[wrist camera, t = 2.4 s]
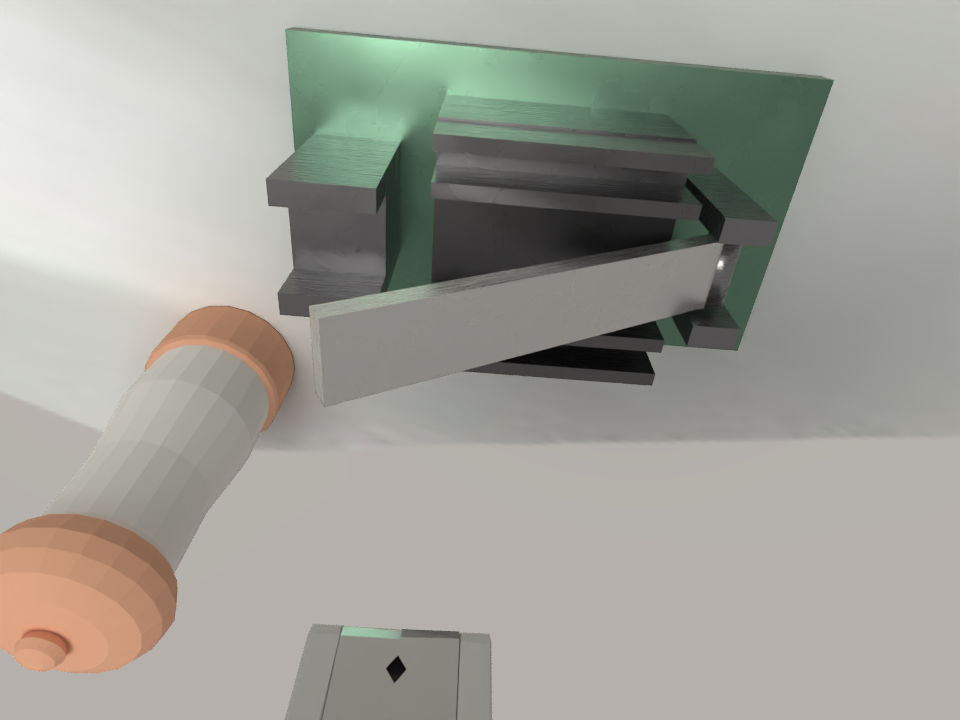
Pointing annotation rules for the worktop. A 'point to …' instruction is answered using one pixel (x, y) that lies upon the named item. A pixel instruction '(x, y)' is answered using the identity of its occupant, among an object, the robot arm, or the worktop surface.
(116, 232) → the worktop surface
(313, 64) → the cooling board
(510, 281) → the steel strap
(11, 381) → the worktop surface
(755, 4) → the worktop surface
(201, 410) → the pepper shaker
